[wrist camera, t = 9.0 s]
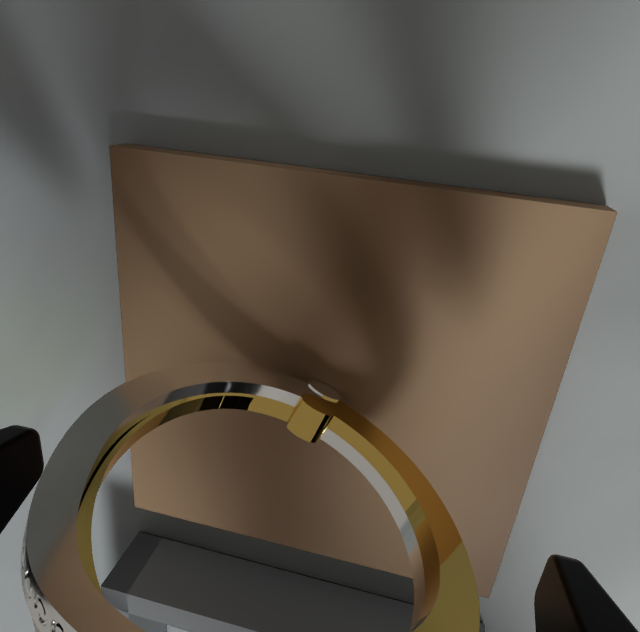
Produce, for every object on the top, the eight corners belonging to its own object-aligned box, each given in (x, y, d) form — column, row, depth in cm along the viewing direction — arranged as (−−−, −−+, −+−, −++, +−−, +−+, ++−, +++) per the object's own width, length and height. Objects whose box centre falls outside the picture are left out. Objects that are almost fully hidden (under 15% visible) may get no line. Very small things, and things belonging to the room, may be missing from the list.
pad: (607, 205, 10) (617, 211, 9) (487, 578, 14) (489, 598, 13) (125, 143, 11) (109, 146, 11) (145, 492, 15) (134, 506, 15)
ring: (490, 422, 11) (567, 1015, 4) (415, 512, 13) (372, 1065, 5) (211, 269, 11) (-210, 579, 4) (168, 376, 13) (-196, 743, 5)
